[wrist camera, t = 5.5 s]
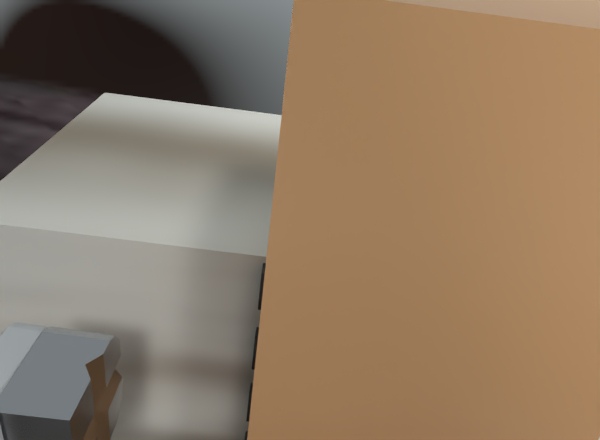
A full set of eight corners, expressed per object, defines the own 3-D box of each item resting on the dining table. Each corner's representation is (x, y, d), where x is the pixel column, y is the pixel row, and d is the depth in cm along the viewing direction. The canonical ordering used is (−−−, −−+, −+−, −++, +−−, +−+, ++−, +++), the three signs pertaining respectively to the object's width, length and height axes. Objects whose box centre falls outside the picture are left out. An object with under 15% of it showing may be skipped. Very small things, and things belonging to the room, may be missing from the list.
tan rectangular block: (424, 735, 11) (821, 58, 4) (217, 715, 10) (294, -13, 4) (401, 547, 14) (608, -7, 7) (242, 529, 14) (309, -48, 7)
